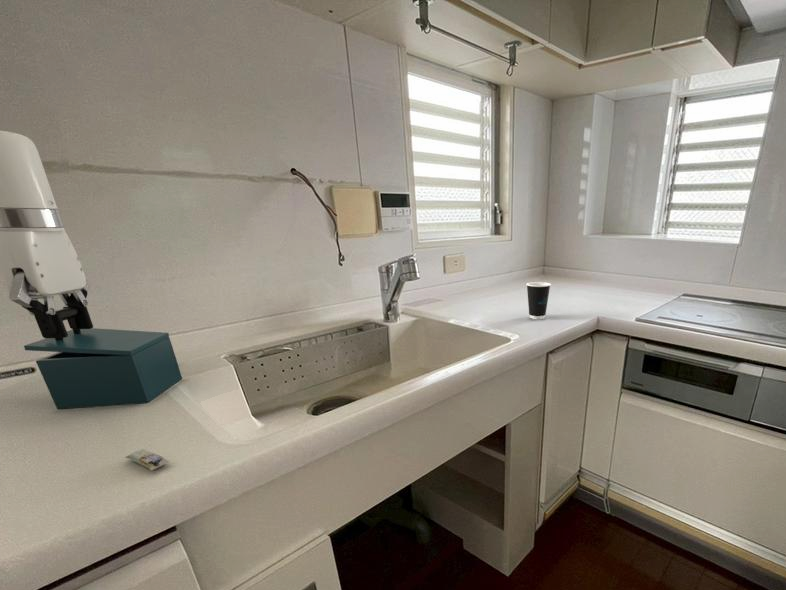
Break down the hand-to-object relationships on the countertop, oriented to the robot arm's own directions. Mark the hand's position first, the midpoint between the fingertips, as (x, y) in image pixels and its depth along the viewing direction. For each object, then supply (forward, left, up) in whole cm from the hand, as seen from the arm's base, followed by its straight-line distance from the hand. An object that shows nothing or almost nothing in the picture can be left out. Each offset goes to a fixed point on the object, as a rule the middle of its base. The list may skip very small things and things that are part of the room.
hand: (69, 331), depth 70 cm
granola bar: (+23, -27, -12) cm, 37 cm away
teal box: (+5, 0, -12) cm, 13 cm away
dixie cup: (+98, +44, -12) cm, 108 cm away
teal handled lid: (+4, 0, -2) cm, 5 cm away
